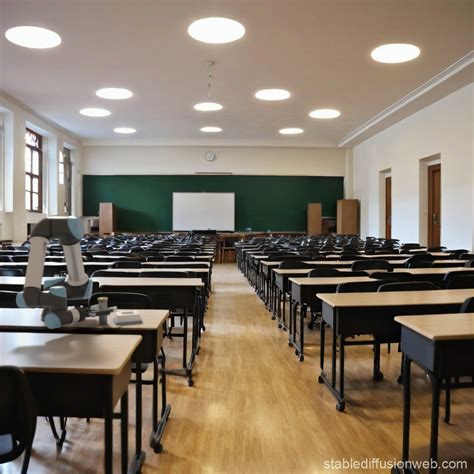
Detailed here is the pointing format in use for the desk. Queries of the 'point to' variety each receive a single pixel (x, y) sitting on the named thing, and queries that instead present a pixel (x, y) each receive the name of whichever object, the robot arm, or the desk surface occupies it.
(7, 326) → the desk surface
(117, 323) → the socket block
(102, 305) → the grey metal peg
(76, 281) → the robot arm
